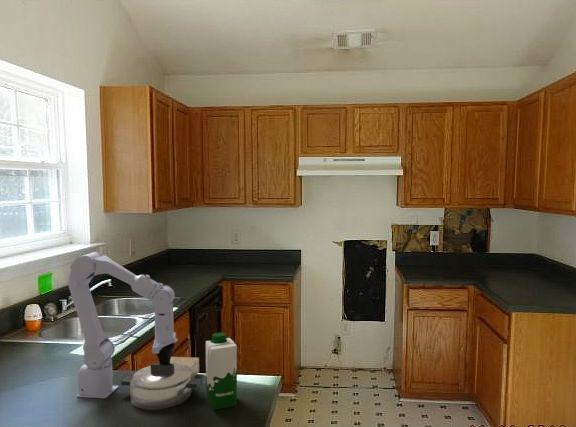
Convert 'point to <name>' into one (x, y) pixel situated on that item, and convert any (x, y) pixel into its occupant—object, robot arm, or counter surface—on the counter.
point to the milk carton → (221, 371)
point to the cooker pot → (166, 396)
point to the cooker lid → (161, 375)
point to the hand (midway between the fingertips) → (165, 368)
